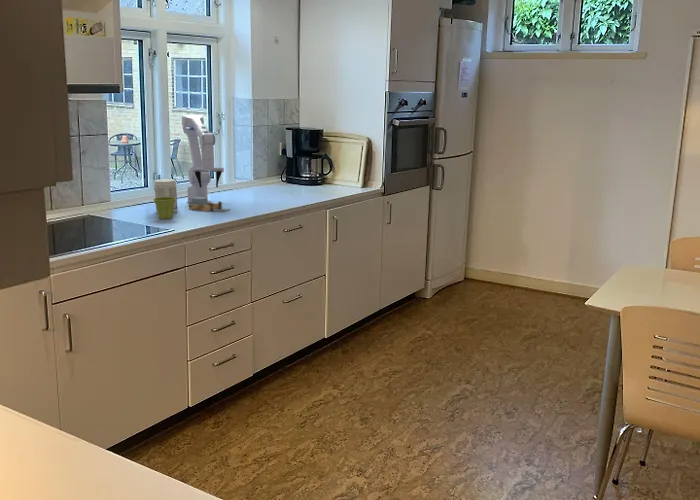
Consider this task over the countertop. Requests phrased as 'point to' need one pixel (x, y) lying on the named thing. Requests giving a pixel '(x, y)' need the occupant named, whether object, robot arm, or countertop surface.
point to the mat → (221, 210)
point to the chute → (205, 206)
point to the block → (199, 200)
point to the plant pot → (165, 207)
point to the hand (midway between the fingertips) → (208, 187)
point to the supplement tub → (166, 190)
